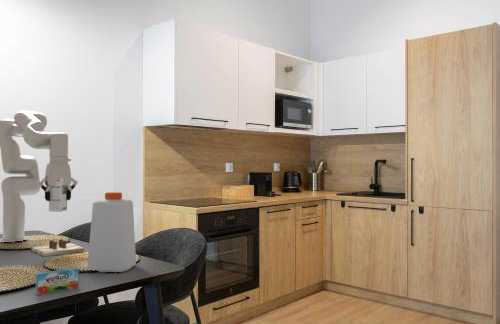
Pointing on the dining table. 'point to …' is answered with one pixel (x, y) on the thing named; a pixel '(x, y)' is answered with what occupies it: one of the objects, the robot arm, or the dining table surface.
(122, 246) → the plastic bottle
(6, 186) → the robot arm
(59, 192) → the syrup box
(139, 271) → the dining table surface
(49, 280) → the yogurt
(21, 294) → the dining table surface
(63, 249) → the peg stand
